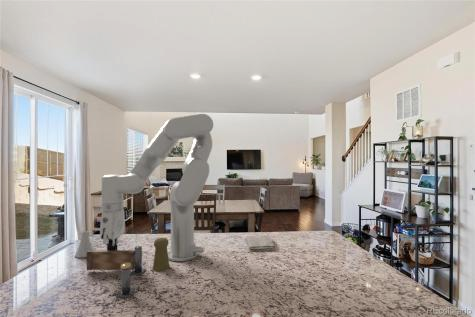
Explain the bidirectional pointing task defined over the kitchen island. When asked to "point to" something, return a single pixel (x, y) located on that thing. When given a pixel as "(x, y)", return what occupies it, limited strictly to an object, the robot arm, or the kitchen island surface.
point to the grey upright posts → (125, 274)
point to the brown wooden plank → (109, 259)
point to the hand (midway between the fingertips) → (112, 255)
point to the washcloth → (259, 243)
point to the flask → (84, 245)
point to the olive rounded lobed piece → (161, 255)
